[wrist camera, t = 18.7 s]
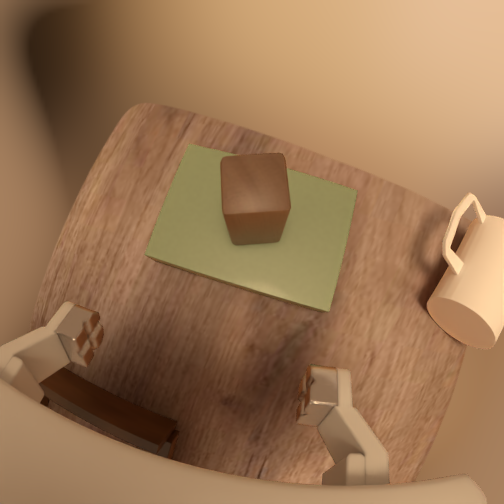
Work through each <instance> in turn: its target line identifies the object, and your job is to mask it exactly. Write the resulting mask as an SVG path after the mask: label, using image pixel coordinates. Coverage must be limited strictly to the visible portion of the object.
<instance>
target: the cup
mask: <svg viewBox="0 0 504 504" xmlns="http://www.w3.org/2000/svg"><path fill="white" fill-rule="evenodd" d="M471 203H472V204H473V206H474V209H475V212H476V215H477V218H476V219H474V220H473V221H472V222H471V224H470V225H469V227H468V229H467V232H466V234H465V236H464V238H463V240H462V242H461V244H460V246H459V247H458V249H457V251H456V253H454V252H453V251H452V250H451V248H450V246H451V244H452V241H453V238H454V235H455V232H456V229H457V226H458V223H459V220H460V217H461V216H462V215H463V213H464V212H465V211H466V209H467V208H468V207H469V205H470V204H471ZM442 256H443V257H444V259H445V260H446V262H447V263H448V265H449V266H448V268H447V270H446V271H445V273H444V275H443V277H442V278H441V280H440V282H439V284H438V285H437V287H436V289H435V290H434V292H433V294H432V295H431V297H430V298H429V300H428V302H427V310H428V312H429V314H430V316H431V317H432V319H433V320H434V321H435V322H436V323H437V324H438V325H439V326H440V327H441V328H442V329H443V330H444V331H445V332H446V333H448V334H449V335H450V336H452V337H453V338H455V339H456V340H458V341H460V342H462V343H464V344H466V345H468V346H471V347H474V348H478V349H489V348H492V347H493V346H494V345H495V343H496V341H497V338H498V337H499V335H500V333H501V330H502V329H503V326H504V219H502V218H500V217H496V216H491V215H488V216H487V215H485V213H484V211H483V209H482V207H481V205H480V204H479V202H478V200H477V198H476V197H475V196H474V195H473V194H471V193H467V194H466V195H465V197H464V198H463V199H462V201H461V202H460V204H459V205H458V206H457V207H456V208H455V210H454V211H453V213H452V216H451V219H450V222H449V225H448V227H447V230H446V233H445V236H444V238H443V241H442Z"/></svg>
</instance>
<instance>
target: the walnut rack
mask: <svg viewBox="0 0 504 504" xmlns="http://www.w3.org/2000/svg"><path fill="white" fill-rule="evenodd" d="M38 384H39V386H40V387H41V388H42V390H43V391H44V396H43V398H42V400H41V402H40V404H42V405H44V406H46V407H47V408H48V400H49V399H51V400H52V401H54V402H55V403H57V404H58V405H60V406H62V407H63V408H65V409H66V410H68V411H70V412H71V413H73V414H75V415H77V416H78V417H80V418H82V419H84V420H85V421H87V422H89V423H91V424H93V425H94V426H96V427H98V428H100V429H102V430H104V431H106V432H108V433H110V434H112V435H114V436H116V437H118V438H120V439H122V440H124V441H126V442H128V443H131V444H133V445H135V446H137V447H140V448H142V449H144V450H147V451H149V452H151V453H154V454H157V455H158V456H161V457H164V458H168V459H172V455H173V452H174V449H175V445H176V442H177V438H178V435H179V432H178V431H176V430H175V427H176V423H177V421H174V420H172V419H169V418H166V417H164V416H161V415H159V414H156V413H154V412H152V411H149V410H147V409H144V408H142V407H140V406H138V405H135V404H133V403H131V402H129V401H126V400H124V399H122V398H120V397H118V396H116V395H114V394H112V393H110V392H108V391H106V390H104V389H102V388H100V387H98V386H96V385H94V384H92V383H90V382H88V381H86V380H85V379H83V378H81V377H79V376H77V375H76V374H74V373H72V372H70V371H69V370H67V369H65V368H63V367H62V368H61V369H59V370H58V371H56V372H55V373H53V374H52V375H50V376H49V377H47V378H46V379H44V380H43V381H41V382H40V383H38Z"/></svg>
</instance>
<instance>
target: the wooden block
mask: <svg viewBox="0 0 504 504" xmlns="http://www.w3.org/2000/svg"><path fill="white" fill-rule="evenodd" d="M220 173H221V199H222V213H223V216H224V220H225V223H226V226H227V229H228V232H229V236H230V239H231V241H232V243H233V244H234V245H246V244H261V243H275V242H278V241H280V239H281V236H282V233H283V230H284V227H285V224H286V221H287V218H288V215H289V212H290V209H291V201H290V193H289V184H288V176H287V168H286V161H285V158H284V156H283V154H281V153H266V154H249V155H235V156H225V157H223V158H222V160H221V162H220Z"/></svg>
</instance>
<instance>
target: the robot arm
mask: <svg viewBox="0 0 504 504" xmlns="http://www.w3.org/2000/svg"><path fill="white" fill-rule="evenodd" d="M99 320H100V316H99V313H98V312H96V311H93V310H90V309H88V308H85V307H82V306H80V305H77V304H75V303H72V302H69V301H66V302H64V303H63V304H62V306H61V307H60V308H59V309H58V311H57V312H56V313H55V315H54V316H53V317H52V318H51V320H50V321H49V322H48V324H47V325H46V326H45V327H43V326H42V327H40V328H37V329H35V330H33V331H31V332H29V333H27V334H25V335H23V336H21V337H19V338H16V339H14V340H12V341H10V342H8V343H6V344H4V345H2V346H0V504H487V500H486V496H485V494H484V493H483V491H482V490H481V489H480V487H479V486H478V485H477V484H476V483H475V482H474V480H473V479H472V478H471V477H470V476H469V475H466V474H458V475H453V476H448V477H442V478H436V479H430V480H422V481H415V482H406V483H395V484H389V460H388V452H387V450H386V449H385V448H384V446H383V445H382V443H381V442H380V441H379V439H378V438H377V436H376V435H375V434H374V432H373V431H372V429H371V428H370V427H369V425H368V424H367V422H366V421H365V419H364V418H363V417H362V415H361V414H360V412H359V411H358V410H357V408H353V403H352V386H351V372H350V370H349V369H341V368H335V367H328V366H321V365H313V364H310V365H308V367H307V369H306V375H304V376H303V377H302V379H301V382H300V385H299V390H298V400H299V402H300V404H299V406H298V407H297V412H296V424H299V425H306V426H314V427H317V429H318V431H319V433H320V435H321V437H322V439H323V441H324V443H325V445H326V447H327V449H328V451H329V453H330V454H331V456H332V458H333V460H334V462H335V464H336V465H334V466H333V467H332V468H330V469H329V470H327V471H326V472H325V473H323V476H322V485H313V484H299V483H288V482H278V481H270V480H263V479H256V478H249V477H243V476H238V475H232V474H227V473H222V472H218V471H213V470H209V469H205V468H200V467H196V466H192V465H189V464H185V463H181V462H178V461H174V460H171V459H168V458H164V457H161V456H158V455H155V454H152V453H149V452H146V451H143V450H140V449H137V448H135V447H132V446H129V445H127V444H124V443H121V442H119V441H116V440H114V439H112V438H109V437H107V436H104V435H102V434H100V433H97V432H95V431H93V430H91V429H89V428H86V427H84V426H82V425H80V424H78V423H76V422H74V421H72V420H70V419H68V418H66V417H64V416H62V415H60V414H58V413H56V412H55V411H53V410H51V409H49V408H47V407H46V406H44V405H42V404H40V402H41V400H42V398H43V396H44V391H43V390H42V388H41V387H40V386H39V384H38V383H40V382H41V381H43V380H44V379H46V378H47V377H49V376H50V375H52V374H53V373H55V372H56V371H58V370H59V369H61V368H62V367H64V366H65V365H67V364H68V363H70V361H71V362H74V363H76V364H79V365H81V366H84V367H86V368H87V367H88V365H89V363H90V362H91V360H92V358H93V356H94V352H93V350H95V349H97V348H99V346H100V344H101V343H102V340H103V336H104V329H103V326H102V325H101V324H100V322H99Z"/></svg>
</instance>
